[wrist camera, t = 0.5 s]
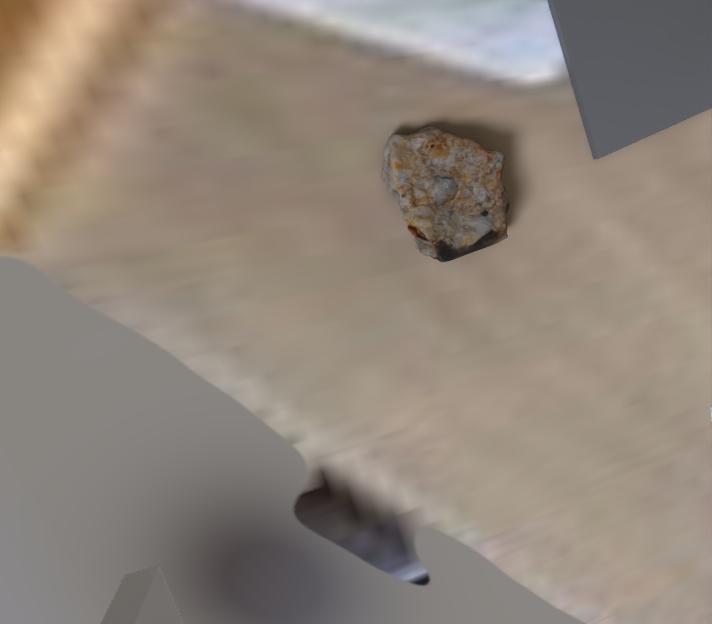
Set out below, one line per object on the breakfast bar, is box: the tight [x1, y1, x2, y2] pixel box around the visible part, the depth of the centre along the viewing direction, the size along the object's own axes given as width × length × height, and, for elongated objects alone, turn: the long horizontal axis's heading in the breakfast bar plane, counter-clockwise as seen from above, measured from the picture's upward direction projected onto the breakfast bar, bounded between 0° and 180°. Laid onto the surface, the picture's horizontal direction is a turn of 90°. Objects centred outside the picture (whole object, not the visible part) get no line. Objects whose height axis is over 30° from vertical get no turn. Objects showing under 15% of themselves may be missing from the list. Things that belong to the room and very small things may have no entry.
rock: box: [381, 126, 509, 262], centre depth 34 cm, size 9×6×10 cm
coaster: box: [548, 0, 712, 159], centre depth 35 cm, size 14×14×1 cm
